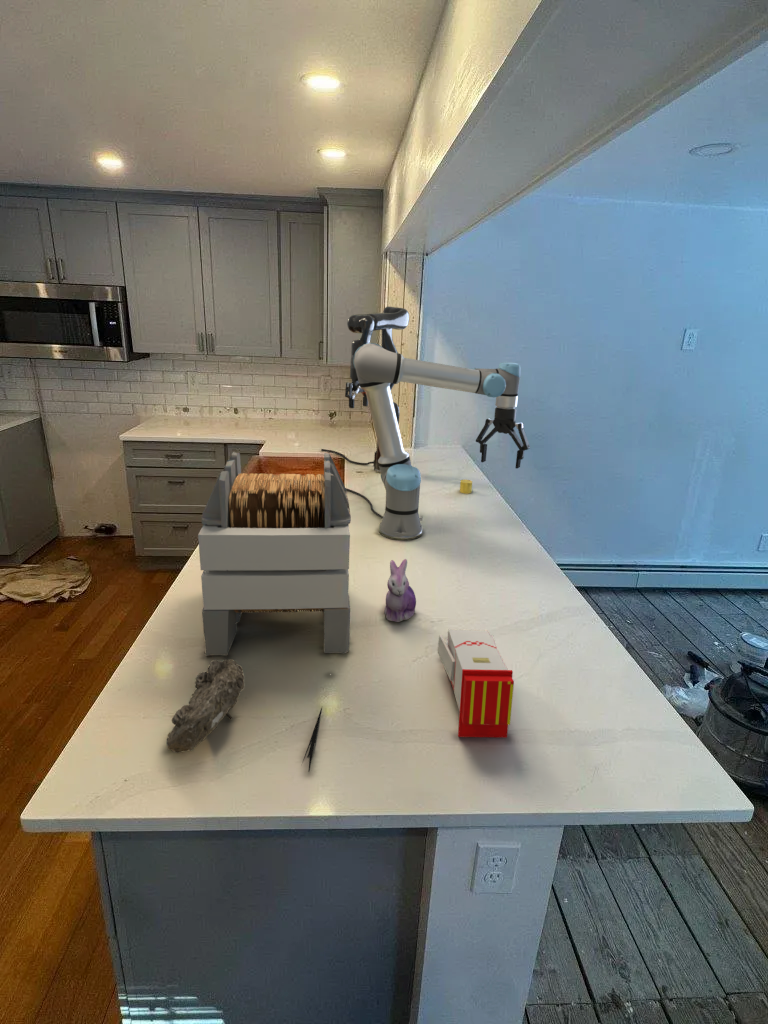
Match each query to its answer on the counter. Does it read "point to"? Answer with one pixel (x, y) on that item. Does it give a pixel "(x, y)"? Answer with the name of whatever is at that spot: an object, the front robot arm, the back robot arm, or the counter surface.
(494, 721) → the toy
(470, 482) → the cylinder
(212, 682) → the fossil
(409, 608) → the figurine
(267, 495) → the record crate
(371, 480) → the counter surface
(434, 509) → the counter surface
